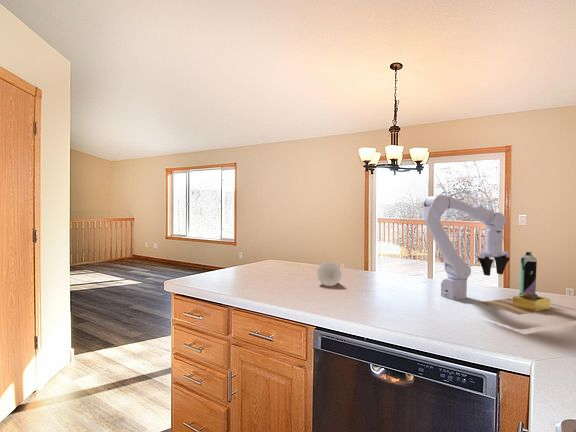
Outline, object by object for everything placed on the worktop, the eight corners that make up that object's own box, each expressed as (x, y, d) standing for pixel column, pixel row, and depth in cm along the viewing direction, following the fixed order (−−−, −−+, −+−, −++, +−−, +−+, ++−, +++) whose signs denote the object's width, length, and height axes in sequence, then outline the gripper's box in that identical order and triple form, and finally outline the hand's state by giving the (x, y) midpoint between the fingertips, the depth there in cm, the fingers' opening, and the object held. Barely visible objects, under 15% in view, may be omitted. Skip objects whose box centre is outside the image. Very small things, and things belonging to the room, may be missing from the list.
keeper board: (518, 317, 118) (519, 300, 118) (477, 305, 133) (478, 289, 133) (552, 312, 125) (553, 296, 125) (509, 301, 140) (510, 286, 139)
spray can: (530, 302, 138) (532, 253, 138) (516, 299, 143) (517, 251, 143) (538, 301, 141) (539, 252, 140) (523, 297, 146) (525, 250, 145)
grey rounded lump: (329, 259, 182) (328, 256, 165) (346, 274, 179) (346, 273, 162) (314, 275, 182) (312, 274, 164) (331, 290, 179) (330, 291, 162)
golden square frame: (535, 311, 121) (535, 302, 121) (513, 305, 129) (512, 296, 129) (549, 308, 124) (549, 298, 124) (527, 302, 132) (527, 293, 132)
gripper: (490, 243, 134) (489, 277, 135) (515, 242, 140) (515, 275, 140) (474, 241, 141) (474, 274, 141) (499, 240, 146) (498, 272, 147)
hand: (493, 274), depth 141 cm, fingers open, 7 cm apart
